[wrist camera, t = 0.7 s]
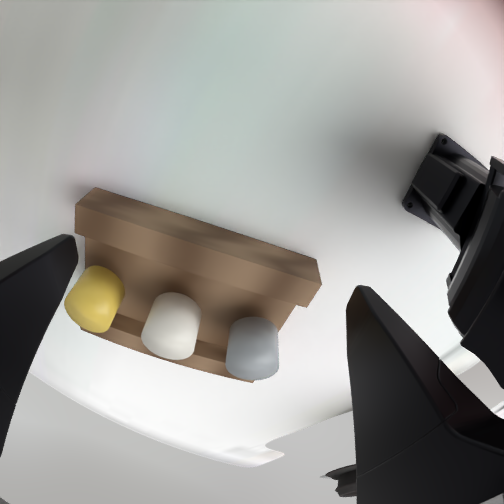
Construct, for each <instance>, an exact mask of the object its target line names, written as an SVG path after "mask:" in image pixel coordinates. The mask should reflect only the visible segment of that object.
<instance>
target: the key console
mask: <svg viewBox="0 0 504 504" xmlns="http://www.w3.org/2000/svg"><path fill="white" fill-rule="evenodd" d="M75 233H76V234H79V235H82V236H85V270H86V269H87V268H88V267H90V266H102V267H105V268H107V269H109V270H110V271H112V272H113V273H114V274H116V275H117V276H118V277H119V279H120V280H121V281H122V283H123V285H124V288H125V296H124V298H123V300H122V302H121V304H120V306H119V308H118V310H117V312H116V314H115V317H114V319H113V321H112V323H111V325H110V327H109V329H108V330H107V331H105V332H102V333H95V332H91V331H88V330H86V329H84V328H82V327H81V326H80V328H81V330H83V331H86V332H88V333H91V334H93V335H96V336H98V337H101V338H103V339H106V340H108V341H111V342H113V343H116V344H119V345H122V346H124V347H127V348H130V349H133V350H136V351H138V352H141V353H144V354H147V355H150V356H153V357H157V358H160V359H163V360H166V361H169V362H173V363H176V364H179V365H183V366H186V367H190V368H193V369H197V370H201V371H204V372H208V373H212V374H216V375H220V376H224V377H228V378H232V379H237V380H241V381H246V382H250V383H253V382H254V381H255V380H246V379H241V378H238V377H236V376H234V375H232V374H231V373H230V372H228V370H227V369H226V365H225V364H226V355H227V347H228V339H229V331H230V327H231V325H232V324H233V323H234V322H235V321H237V320H239V319H242V318H245V317H260V318H264V319H267V320H269V321H271V322H272V323H273V324H274V325H275V326H276V328H277V330H278V332H279V330H280V329H281V327H282V326H283V324H284V323H285V321H286V320H287V318H288V317H289V315H290V314H291V312H292V310H293V309H294V307H295V306H296V305H299V306H303V307H306V308H307V306H308V305H309V303H310V302H311V300H312V299H313V297H314V296H315V294H316V293H317V291H318V290H319V288H320V287H321V285H322V282H321V278H320V274H319V269H318V265H317V261H316V259H313V258H310V257H307V256H304V255H301V254H298V253H295V252H292V251H289V250H286V249H283V248H280V247H277V246H274V245H271V244H268V243H266V242H263V241H260V240H257V239H254V238H251V237H248V236H245V235H241V234H238V233H235V232H232V231H229V230H226V229H223V228H220V227H217V226H214V225H211V224H208V223H205V222H202V221H199V220H196V219H193V218H190V217H187V216H184V215H180V214H177V213H174V212H171V211H168V210H165V209H162V208H159V207H156V206H152V205H149V204H146V203H143V202H140V201H137V200H134V199H130V198H127V197H124V196H121V195H118V194H115V193H111V192H108V191H105V190H102V189H99V188H94V189H93V190H92V191H90V192H89V193H88V194H87V195H86V196H84V197H83V198H82V199H81V200H80V201H79V202H78V203H76V204H75ZM168 292H175V293H180V294H183V295H186V296H188V297H189V298H191V299H192V300H194V301H195V302H196V303H197V304H198V306H199V307H200V309H201V314H202V315H201V321H200V325H199V330H198V334H197V339H196V343H195V348H194V352H193V354H192V355H191V356H190V357H188V358H185V359H181V360H172V359H166V358H163V357H160V356H158V355H156V354H154V353H153V352H151V351H150V350H149V349H148V348H147V347H146V346H145V345H144V344H143V342H142V339H141V334H142V331H143V328H144V326H145V323H146V321H147V318H148V315H149V313H150V310H151V308H152V305H153V303H154V301H155V299H156V298H157V297H158V296H159V295H161V294H163V293H168Z"/></svg>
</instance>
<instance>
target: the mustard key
mask: <svg viewBox="0 0 504 504" xmlns="http://www.w3.org/2000/svg"><path fill="white" fill-rule="evenodd" d="M124 296H125V288H124V285H123V283H122V281H121V280H120V279H119V277H118V276H117V275H116V274H114V273H113V272H112V271H110V270H109V269H107V268H105V267H102V266H90V267H88V268H87V269H86V270H85V271H84V272H83V274H82V275H81V277H80V278H79V279H78V281H77V282H76V284H75V285H74V287H73V288H72V290H71V291H70V293H69V294H68V296H67V297H66V299H65V302H64V305H65V309H66V311H67V313H68V315H69V316H70V317H71V319H72V320H73V321H74V322H75V323H77V324H78V325H79V326H81V327H82V328H84V329H86V330H88V331H91V332H95V333H102V332H105V331H107V330H108V329H109V327H110V325H111V323H112V321H113V319H114V317H115V314H116V312H117V310H118V308H119V306H120V304H121V302H122V300H123V298H124Z"/></svg>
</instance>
